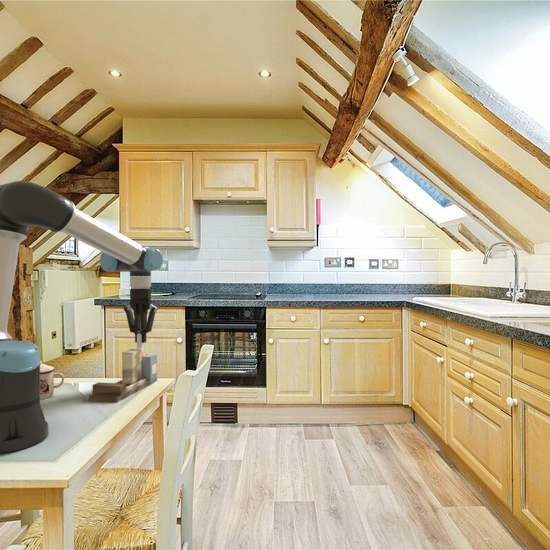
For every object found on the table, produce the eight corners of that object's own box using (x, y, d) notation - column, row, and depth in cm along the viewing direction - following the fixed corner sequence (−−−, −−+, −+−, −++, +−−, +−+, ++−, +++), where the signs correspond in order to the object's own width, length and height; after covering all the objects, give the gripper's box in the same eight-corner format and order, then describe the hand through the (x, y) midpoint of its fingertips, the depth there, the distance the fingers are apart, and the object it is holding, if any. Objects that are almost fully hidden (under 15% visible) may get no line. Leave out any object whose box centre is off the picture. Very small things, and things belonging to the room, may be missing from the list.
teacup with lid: (20, 402, 126) (19, 365, 126) (25, 394, 135) (24, 360, 135) (63, 397, 131) (62, 361, 131) (65, 390, 139) (65, 356, 139)
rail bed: (117, 402, 126) (117, 387, 126) (88, 400, 127) (88, 386, 127) (157, 380, 151) (157, 368, 151) (132, 379, 153) (132, 367, 153)
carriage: (132, 384, 140) (132, 352, 140) (122, 383, 141) (122, 352, 141) (141, 379, 146) (141, 349, 146) (131, 379, 147) (131, 349, 147)
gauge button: (142, 365, 148) (142, 354, 148) (135, 365, 148) (135, 354, 148) (146, 364, 151) (146, 353, 151) (139, 363, 151) (139, 353, 151)
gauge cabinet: (151, 384, 146) (150, 356, 146) (125, 383, 148) (125, 356, 148) (157, 380, 151) (157, 354, 151) (132, 379, 153) (132, 353, 153)
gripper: (161, 287, 152) (161, 350, 152) (130, 287, 155) (130, 349, 154) (151, 288, 145) (151, 353, 144) (118, 288, 147) (119, 352, 147)
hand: (140, 351), depth 149 cm, fingers closed
